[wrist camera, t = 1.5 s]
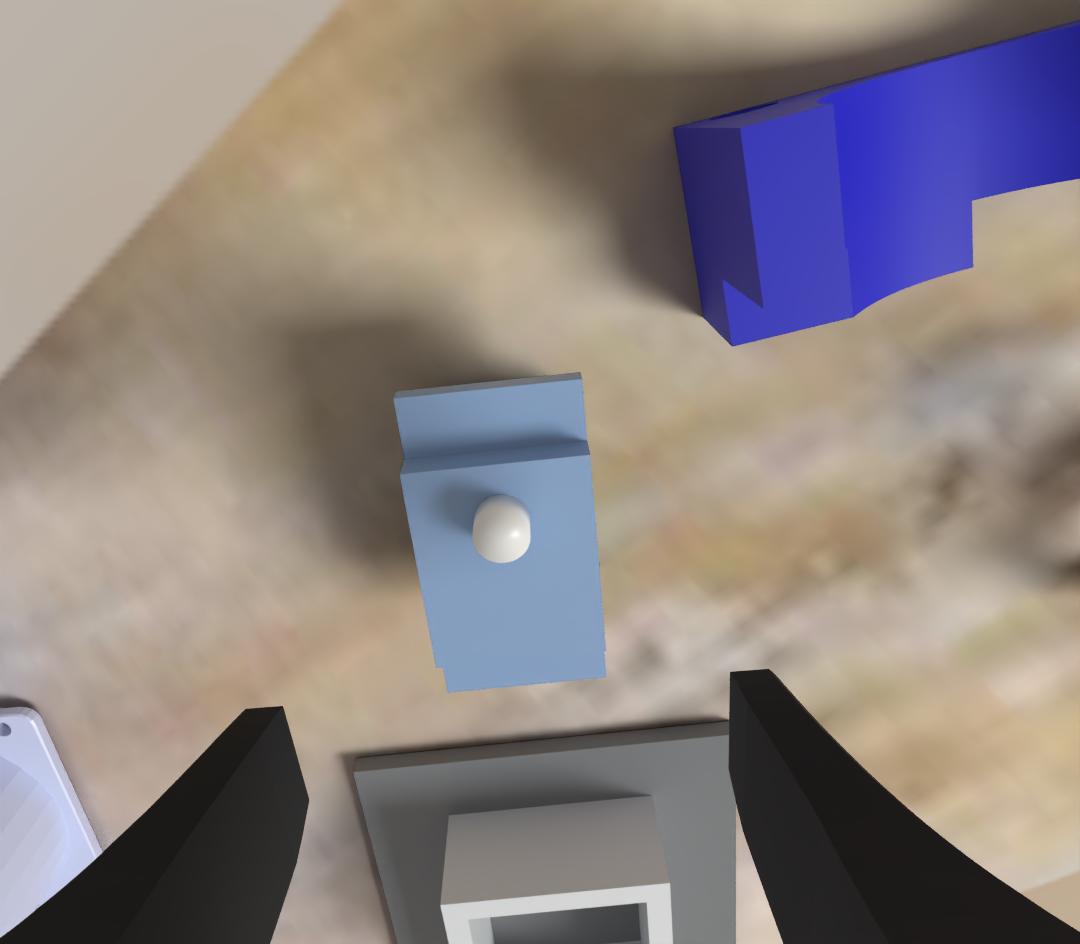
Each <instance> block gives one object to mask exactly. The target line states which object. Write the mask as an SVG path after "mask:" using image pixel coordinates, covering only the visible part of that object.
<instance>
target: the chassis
mask: <svg viewBox="0 0 1080 944" xmlns="http://www.w3.org/2000/svg"><path fill="white" fill-rule="evenodd" d="M728 766H729V721H725V722H715V723H705V724H695V725H685V726H675V727H665V728H655V729H645V730H635V731H625V732H615V733H605V734H595V735H585V736H575V737H564V738H554V739H544V740H534V741H524V742H514V743H504V744H494V745H484V746H474V747H464V748H454V749H444V750H434V751H424V752H414V753H404V754H394V755H384V756H374V757H363V758H356V762H355V766H354V770H353V775H354V778H355V782H356V786H357V790H358V794H359V797H360V801H361V805H362V809H363V813H364V817H365V820H366V824H367V828H368V832H369V836H370V840H371V843H372V847H373V851H374V855H375V859H376V863H377V866H378V870H379V874H380V878H381V882H382V886H383V889H384V893H385V897H386V901H387V905H388V909H389V912H390V916H391V920H392V924H393V928H394V932H395V935H396V939H397V943H398V944H736V800H735V795H734V791H733V787H732V782H731V778H730V774H729V769H728Z"/></svg>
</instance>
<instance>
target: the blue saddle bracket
mask: <svg viewBox="0 0 1080 944" xmlns="http://www.w3.org/2000/svg"><path fill="white" fill-rule="evenodd" d="M673 130H674V137H675V143H676V149H677V155H678V162H679V168H680V174H681V180H682V186H683V193H684V199H685V205H686V211H687V217H688V224H689V230H690V236H691V242H692V248H693V255H694V261H695V267H696V273H697V280H698V286H699V292H700V298H701V304H702V311H703V317H704V319H705V320H706V321H707V322H708V323H709V324H710V325H711V326H712V327H713V328H714V329H715V330H716V331H717V332H718V333H719V334H720V335H721V336H722V337H723V338H724V339H725V340H726V341H727V342H728V343H729V344H730V345H731V346H737V345H741V344H745V343H749V342H753V341H757V340H761V339H765V338H769V337H773V336H778V335H782V334H786V333H790V332H794V331H798V330H802V329H806V328H810V327H815V326H819V325H823V324H827V323H831V322H835V321H839V320H843V319H847V318H851V317H854V316H855V315H856V314H858V313H859V312H861V311H862V310H863V309H865V308H866V307H868V306H870V305H871V304H873V303H875V302H876V301H878V300H880V299H882V298H884V297H886V296H888V295H891V294H893V293H895V292H898V291H900V290H902V289H905V288H907V287H910V286H913V285H915V284H918V283H921V282H924V281H927V280H930V279H933V278H936V277H939V276H942V275H946V274H950V273H953V272H957V271H960V270H964V269H968V268H972V267H973V244H972V200H976V199H980V198H985V197H989V196H993V195H998V194H1002V193H1006V192H1011V191H1016V190H1021V189H1025V188H1030V187H1035V186H1041V185H1046V184H1051V183H1056V182H1062V181H1068V180H1074V179H1080V20H1079V21H1075V22H1071V23H1067V24H1064V25H1060V26H1056V27H1052V28H1048V29H1045V30H1041V31H1037V32H1033V33H1030V34H1026V35H1022V36H1018V37H1014V38H1011V39H1007V40H1003V41H999V42H996V43H992V44H988V45H984V46H981V47H977V48H973V49H969V50H965V51H962V52H958V53H954V54H950V55H947V56H943V57H939V58H935V59H931V60H928V61H924V62H920V63H916V64H913V65H909V66H905V67H901V68H897V69H894V70H890V71H886V72H882V73H879V74H875V75H871V76H867V77H863V78H860V79H856V80H852V81H848V82H845V83H841V84H837V85H833V86H829V87H826V88H822V89H818V90H814V91H811V92H807V93H803V94H799V95H796V96H792V97H788V98H784V99H780V100H777V101H773V102H769V103H765V104H762V105H758V106H754V107H750V108H746V109H743V110H739V111H735V112H731V113H728V114H724V115H720V116H716V117H712V118H709V119H705V120H701V121H697V122H694V123H690V124H686V125H682V126H678V127H675V128H673Z"/></svg>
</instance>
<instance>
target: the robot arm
mask: <svg viewBox="0 0 1080 944" xmlns="http://www.w3.org/2000/svg"><path fill="white" fill-rule="evenodd" d="M3 723H5V724H7V725H8V726H9V727H8V726H6V725H4V724H3ZM728 769H729V774H730V778H731V782H732V787H733V791H734V795H735V800H736V804H737V808H738V812H739V816H740V820H741V824H742V828H743V832H744V835H745V838H746V841H747V844H748V847H749V849H750V852H751V855H752V858H753V861H754V863H755V866H756V869H757V872H758V875H759V877H760V880H761V883H762V886H763V889H764V891H765V894H766V897H767V900H768V902H769V905H770V908H771V911H772V914H773V916H774V919H775V922H776V925H777V927H778V930H779V933H780V936H781V938H782V941H783V944H1080V932H1079V931H1077V930H1076V929H1074V928H1073V927H1071V926H1069V925H1068V924H1066V923H1065V922H1063V921H1061V920H1060V919H1058V918H1057V917H1055V916H1053V915H1052V914H1050V913H1048V912H1047V911H1046V910H1044V909H1042V908H1041V907H1040V906H1038V905H1037V904H1035V903H1034V902H1032V901H1031V900H1029V899H1028V898H1026V897H1025V896H1023V895H1022V894H1020V893H1019V892H1017V891H1016V890H1014V889H1013V888H1011V887H1010V886H1008V885H1007V884H1005V883H1004V882H1002V881H1001V880H999V879H998V878H996V877H995V876H994V875H992V874H991V873H989V872H988V871H987V870H985V869H984V868H982V867H981V866H980V865H978V864H977V863H975V862H974V861H973V860H971V859H970V858H969V857H967V856H966V855H965V854H964V853H962V852H961V851H960V850H958V849H957V848H956V847H954V846H953V845H952V844H951V843H949V842H948V841H947V840H945V839H944V838H943V837H942V836H940V835H939V834H938V833H937V832H935V831H934V830H933V829H932V828H931V827H929V826H928V825H927V824H926V823H924V822H923V821H922V820H921V819H920V818H919V817H917V816H916V815H915V814H914V813H913V812H911V811H910V810H909V809H908V808H907V807H906V806H905V805H903V804H902V803H901V802H900V801H899V800H898V799H897V798H896V797H895V796H893V795H892V794H891V793H890V792H889V791H888V790H887V789H886V788H884V787H883V786H882V785H881V784H880V783H879V782H878V781H877V780H876V779H875V778H874V777H873V776H872V775H870V774H869V773H868V772H867V771H866V770H865V769H864V768H863V767H862V766H861V765H860V764H859V763H858V762H857V761H856V760H855V759H854V758H853V757H852V756H851V755H850V754H849V753H848V752H847V751H846V750H845V749H844V748H843V747H842V746H841V745H840V744H839V743H838V742H837V741H836V740H835V739H834V738H833V737H832V736H831V735H830V734H829V733H828V732H827V731H826V730H825V729H824V728H823V727H822V726H821V725H820V724H819V722H818V721H817V720H816V719H815V718H814V717H813V716H812V715H811V714H810V713H809V712H808V711H807V710H806V709H805V707H804V706H803V705H802V704H801V703H800V702H799V701H798V700H797V699H796V697H795V696H794V695H793V694H792V693H791V692H790V691H789V690H788V688H787V687H786V686H785V685H784V684H783V683H782V682H781V681H780V679H779V678H778V677H777V676H776V675H775V674H774V673H773V672H772V671H771V670H769V669H762V670H749V671H736V672H730V712H729V766H728ZM308 804H309V797H308V794H307V790H306V787H305V783H304V780H303V776H302V772H301V769H300V765H299V762H298V758H297V755H296V751H295V747H294V744H293V740H292V737H291V733H290V730H289V726H288V722H287V719H286V715H285V712H284V708H283V706H278V707H265V708H252V709H245V710H244V711H243V712H242V713H241V714H240V715H239V716H238V717H237V718H236V719H235V720H234V721H233V722H232V723H231V724H230V725H229V726H228V727H227V728H226V730H225V731H224V732H223V733H222V734H221V735H220V736H219V737H218V738H217V739H216V740H215V741H214V742H213V743H212V744H211V745H210V746H209V747H208V748H207V750H206V751H205V752H204V753H203V754H202V755H201V756H200V757H199V758H198V759H197V760H196V761H195V762H194V763H193V764H192V765H191V766H190V767H189V768H188V769H187V770H186V771H185V772H184V773H183V774H182V776H181V777H180V778H179V779H178V780H177V781H176V782H175V783H174V784H173V785H172V786H171V787H170V788H169V789H168V790H167V791H166V792H165V793H164V794H163V795H162V796H161V797H160V798H159V799H158V800H157V801H156V802H155V803H154V804H153V805H152V806H151V807H150V808H149V809H148V810H147V811H146V812H145V813H144V814H143V815H142V816H141V817H140V818H139V819H137V820H136V821H135V822H134V823H133V824H132V825H131V826H130V827H129V828H128V829H127V830H126V831H125V832H124V833H123V834H122V835H121V836H119V837H118V838H117V839H116V840H115V841H114V842H113V843H112V844H111V845H110V846H109V847H108V848H107V849H106V850H105V851H104V852H102V850H101V847H100V845H99V843H98V841H97V839H96V836H95V834H94V832H93V830H92V828H91V826H90V823H89V821H88V819H87V817H86V815H85V812H84V810H83V808H82V806H81V804H80V801H79V799H78V797H77V795H76V793H75V790H74V788H73V786H72V784H71V782H70V780H69V777H68V775H67V773H66V771H65V769H64V766H63V764H62V762H61V760H60V758H59V755H58V753H57V751H56V749H55V747H54V744H53V742H52V740H51V738H50V736H49V734H48V731H47V729H46V727H45V725H44V723H43V720H42V718H41V717H40V715H39V714H38V713H37V712H36V711H34V710H33V709H30V708H27V707H12V708H2V709H0V944H270V942H271V939H272V936H273V933H274V930H275V927H276V924H277V921H278V918H279V915H280V912H281V909H282V906H283V903H284V900H285V897H286V894H287V891H288V888H289V885H290V882H291V879H292V876H293V873H294V869H295V866H296V863H297V858H298V854H299V849H300V845H301V840H302V835H303V830H304V825H305V820H306V814H307V809H308ZM39 905H41V906H40V907H39V908H38V909H36V908H37V906H39ZM35 909H36V910H35Z"/></svg>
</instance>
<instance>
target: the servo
mask: <svg viewBox="0 0 1080 944" xmlns="http://www.w3.org/2000/svg"><path fill="white" fill-rule="evenodd" d="M393 400H394V406H395V411H396V416H397V422H398V427H399V432H400V438H401V443H402V449H403V454H404V459H405V460H404V462H403V465H402V468H401V471H400V474H399V475H400V480H401V485H402V490H403V496H404V501H405V506H406V511H407V517H408V522H409V527H410V533H411V538H412V543H413V548H414V554H415V559H416V564H417V569H418V575H419V580H420V585H421V590H422V596H423V601H424V606H425V612H426V617H427V622H428V627H429V633H430V638H431V643H432V648H433V654H434V659H435V664H436V668H440V667H443V670H444V675H445V681H446V686H447V691H448V693H450V692H461V691H471V690H481V689H491V688H501V687H512V686H522V685H532V684H542V683H552V682H563V681H573V680H583V679H593V678H603V677H606V667H605V654H604V651H606V645H605V632H604V620H603V608H602V595H601V583H600V570H599V558H598V545H597V533H596V521H595V508H594V496H593V483H592V471H591V458H590V452H589V447H588V443H587V434H586V421H585V409H584V397H583V385H582V377H581V373H580V372H577V373H568V374H558V375H549V376H539V377H529V378H520V379H510V380H501V381H491V382H482V383H472V384H462V385H453V386H443V387H434V388H424V389H415V390H405V391H397V392H396V394H395V396H394V398H393Z"/></svg>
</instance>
